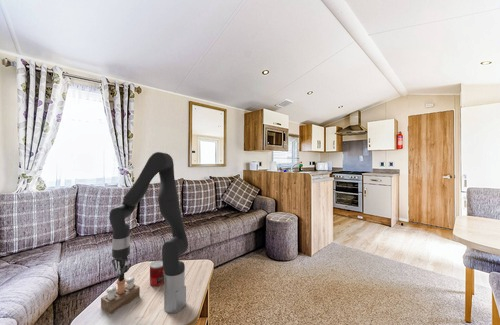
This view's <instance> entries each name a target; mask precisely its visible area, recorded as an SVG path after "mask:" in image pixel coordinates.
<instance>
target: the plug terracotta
mask: <svg viewBox="0 0 500 325" xmlns="http://www.w3.org/2000/svg"><path fill="white" fill-rule="evenodd" d="M126 279H127V278H125V277H124V280H122V281H118V279H117V280H116V284H117V289H118V295H121V294H123V293H125V285H126V283H125V282H126Z"/></svg>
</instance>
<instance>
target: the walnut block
mask: <svg viewBox="0 0 500 325" xmlns="http://www.w3.org/2000/svg"><path fill="white" fill-rule="evenodd" d="M140 293H141V290H140V286H139V285H137V284H135V283H134V287H133V288H132V289H130V290H128V289H127V283H125V293H123V294H121V295H118V288H116V290H115V298H114V299H112V300H111V301H108V293H106V295H104V296H102V297H101V298H100V309H101V308H102V310H103V311H104V310H105V311H104V312H106V313H108V315H110V314H111V315H112V314H114V313H115V312H117V311H119V310H120V309H122V308H124V307H125V306H126V305H128V304H130V303H131V302H133V301H135V300H136V299H138V298H140V296H141V295H140Z"/></svg>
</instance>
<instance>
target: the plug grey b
mask: <svg viewBox="0 0 500 325" xmlns="http://www.w3.org/2000/svg"><path fill="white" fill-rule="evenodd" d="M125 279H126V281H125V282H126V284H127V289H128V290H130V289H132V288H133V287H134V284H135V283H134V281H135V277H134V276H128V277H127V278H125Z"/></svg>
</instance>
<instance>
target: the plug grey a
mask: <svg viewBox="0 0 500 325" xmlns="http://www.w3.org/2000/svg"><path fill="white" fill-rule="evenodd" d="M115 290H117V286H115V285H112V286H109V287H108V288H106V294H108V301H111V300H112V299H114V298H115Z"/></svg>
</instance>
